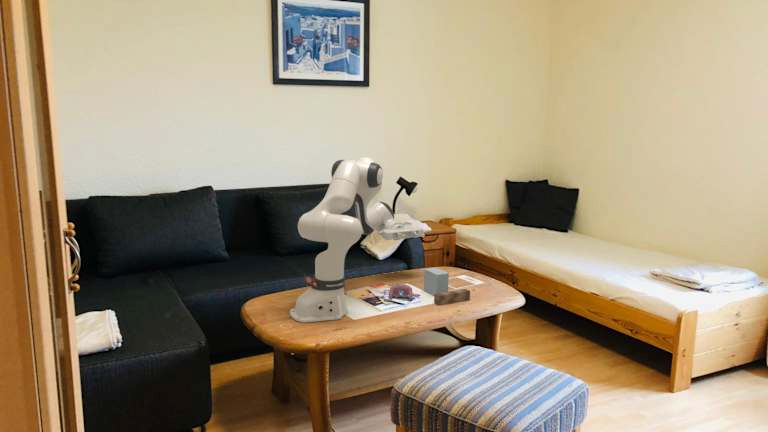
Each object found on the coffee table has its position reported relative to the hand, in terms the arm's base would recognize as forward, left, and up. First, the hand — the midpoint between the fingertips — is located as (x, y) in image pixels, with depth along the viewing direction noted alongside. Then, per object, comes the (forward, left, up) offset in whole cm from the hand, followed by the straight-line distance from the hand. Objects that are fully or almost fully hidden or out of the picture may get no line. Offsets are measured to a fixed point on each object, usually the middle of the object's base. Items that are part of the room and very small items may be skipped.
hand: (410, 236), depth 259 cm
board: (+3, -30, -22) cm, 37 cm away
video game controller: (-14, -16, -22) cm, 31 cm away
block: (+3, -17, -22) cm, 28 cm away
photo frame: (+22, -9, -23) cm, 33 cm away
